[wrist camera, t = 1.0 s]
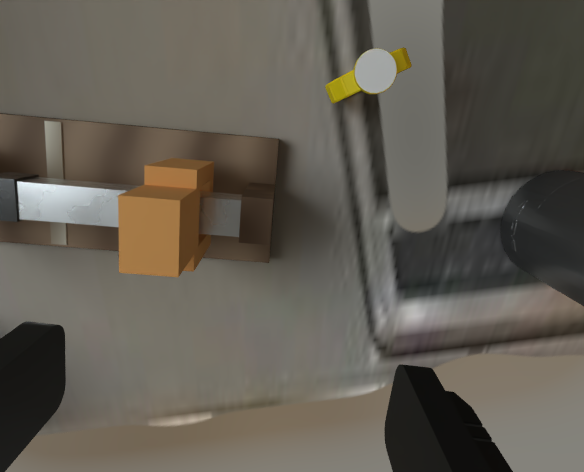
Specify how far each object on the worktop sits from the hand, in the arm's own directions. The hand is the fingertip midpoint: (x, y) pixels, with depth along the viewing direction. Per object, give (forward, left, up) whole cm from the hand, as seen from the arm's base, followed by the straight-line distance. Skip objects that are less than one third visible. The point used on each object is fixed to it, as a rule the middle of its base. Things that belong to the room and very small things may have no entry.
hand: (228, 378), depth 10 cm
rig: (+11, 0, -26) cm, 28 cm away
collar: (+5, 0, -22) cm, 22 cm away
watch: (-7, -10, -26) cm, 29 cm away
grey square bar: (+11, 0, -20) cm, 23 cm away
